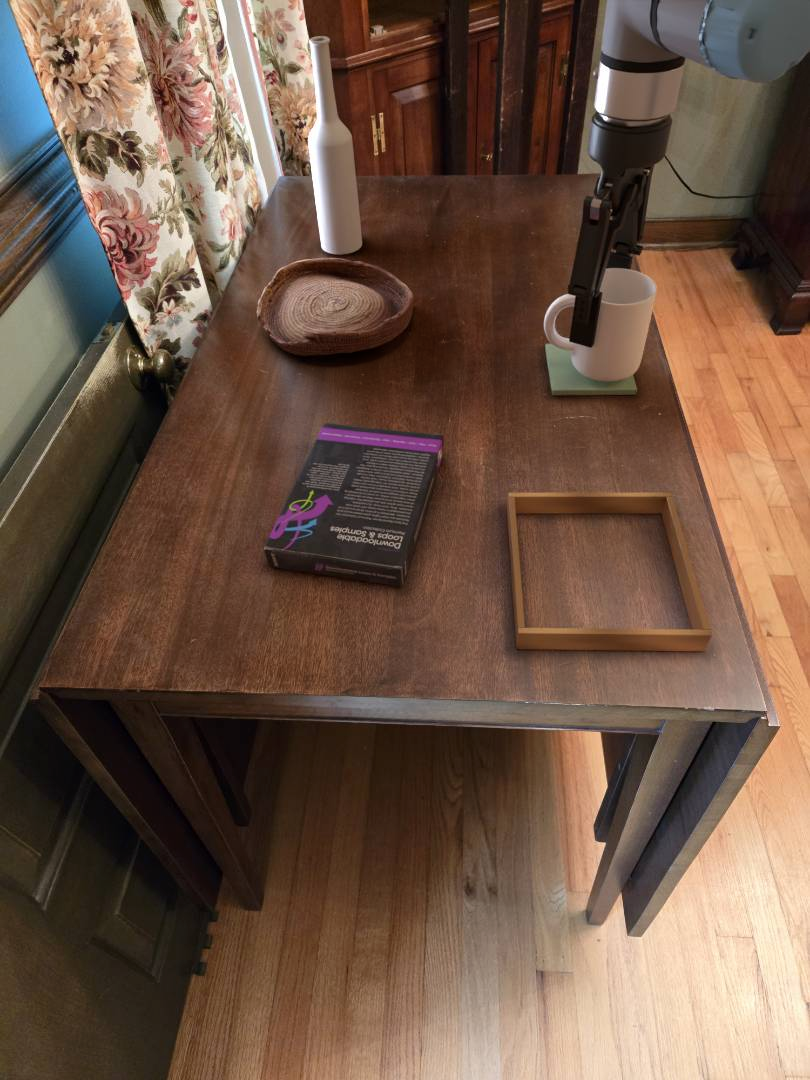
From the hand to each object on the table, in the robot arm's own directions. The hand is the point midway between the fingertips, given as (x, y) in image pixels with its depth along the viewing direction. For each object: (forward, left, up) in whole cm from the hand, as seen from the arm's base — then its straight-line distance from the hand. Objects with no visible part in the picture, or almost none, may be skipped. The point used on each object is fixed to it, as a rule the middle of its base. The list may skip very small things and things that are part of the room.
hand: (596, 324), depth 86 cm
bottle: (+48, -13, -7) cm, 50 cm away
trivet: (0, 0, -7) cm, 7 cm away
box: (+11, +34, -7) cm, 37 cm away
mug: (0, +1, -5) cm, 5 cm away
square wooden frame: (-14, +30, -7) cm, 34 cm away
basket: (+35, +6, -7) cm, 36 cm away
